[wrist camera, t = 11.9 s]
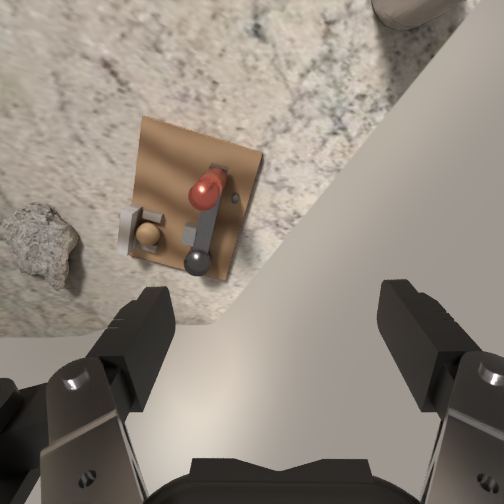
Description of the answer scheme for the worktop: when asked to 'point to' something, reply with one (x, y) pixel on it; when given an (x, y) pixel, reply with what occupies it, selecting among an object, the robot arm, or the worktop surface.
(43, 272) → the rock
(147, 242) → the tan wooden ball
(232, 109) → the worktop surface
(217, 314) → the worktop surface
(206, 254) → the lever
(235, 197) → the base
